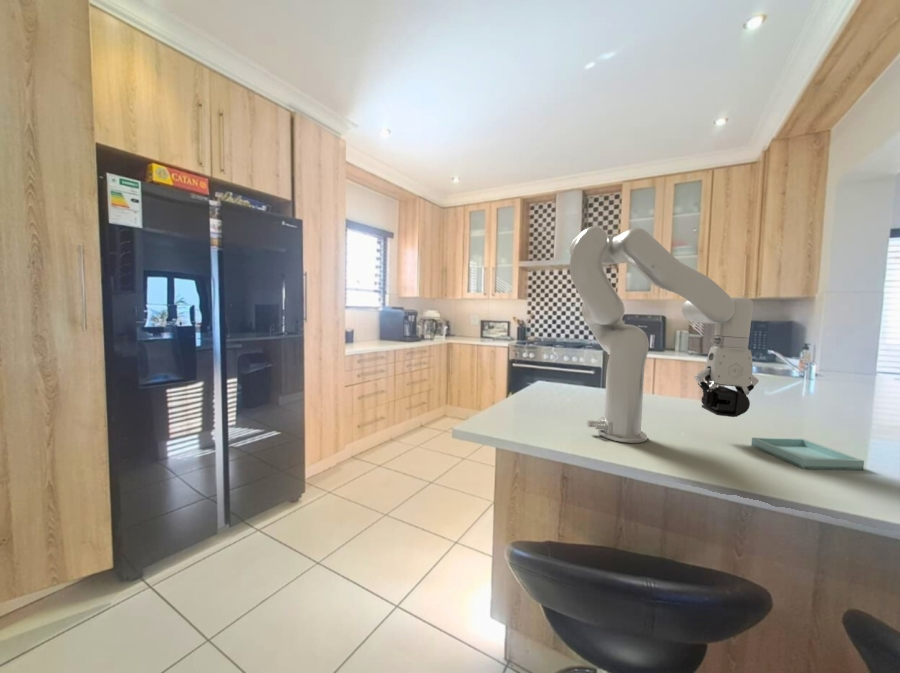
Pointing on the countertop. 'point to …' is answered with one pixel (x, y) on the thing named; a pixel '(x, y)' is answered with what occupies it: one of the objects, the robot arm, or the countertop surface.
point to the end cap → (728, 402)
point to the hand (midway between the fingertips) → (723, 406)
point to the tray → (807, 454)
